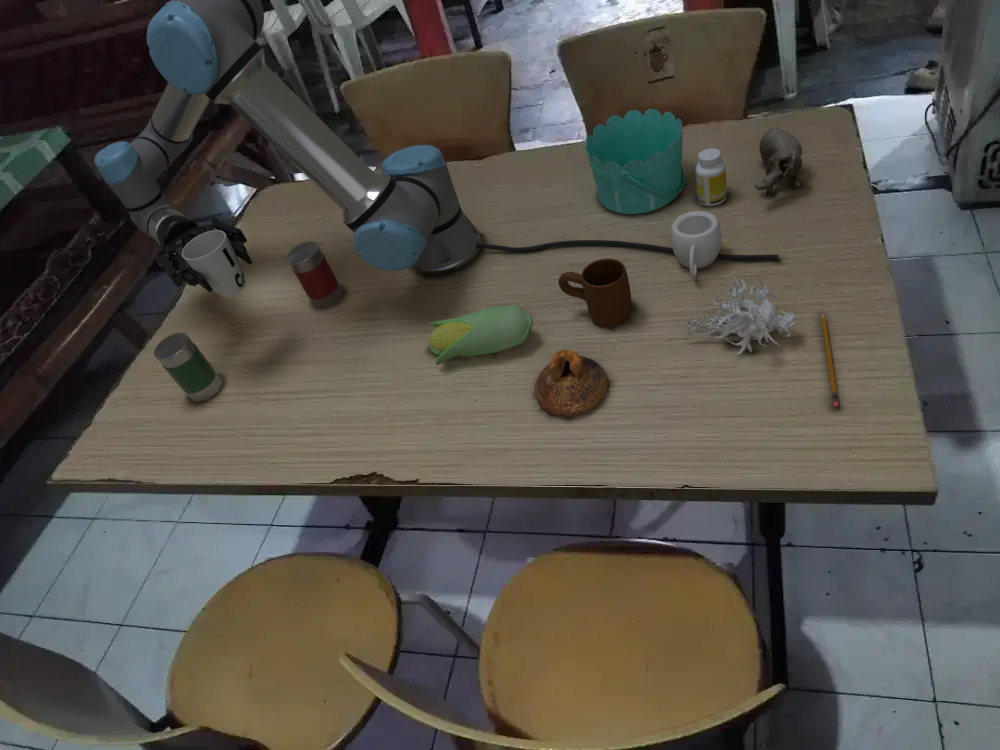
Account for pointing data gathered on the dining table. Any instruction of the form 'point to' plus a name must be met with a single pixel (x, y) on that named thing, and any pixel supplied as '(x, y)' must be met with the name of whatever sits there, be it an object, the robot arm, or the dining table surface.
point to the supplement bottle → (711, 178)
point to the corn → (480, 332)
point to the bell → (570, 384)
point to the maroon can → (315, 274)
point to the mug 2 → (696, 239)
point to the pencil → (829, 362)
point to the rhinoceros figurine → (779, 158)
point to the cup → (216, 262)
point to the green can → (188, 367)
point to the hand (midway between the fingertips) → (227, 271)
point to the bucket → (637, 161)
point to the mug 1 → (602, 291)
